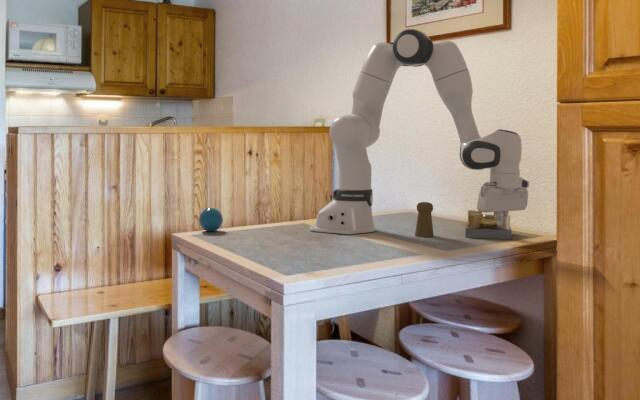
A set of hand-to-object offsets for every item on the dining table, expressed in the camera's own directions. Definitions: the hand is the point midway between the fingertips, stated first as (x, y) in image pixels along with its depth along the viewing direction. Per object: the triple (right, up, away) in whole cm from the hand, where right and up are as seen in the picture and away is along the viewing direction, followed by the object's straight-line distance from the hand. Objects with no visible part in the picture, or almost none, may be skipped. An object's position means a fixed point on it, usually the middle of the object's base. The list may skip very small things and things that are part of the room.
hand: (500, 225), depth 183 cm
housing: (-2, -4, +6) cm, 7 cm away
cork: (-23, -4, +5) cm, 24 cm away
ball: (-94, -3, +11) cm, 95 cm away
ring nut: (-2, -1, +6) cm, 6 cm away
